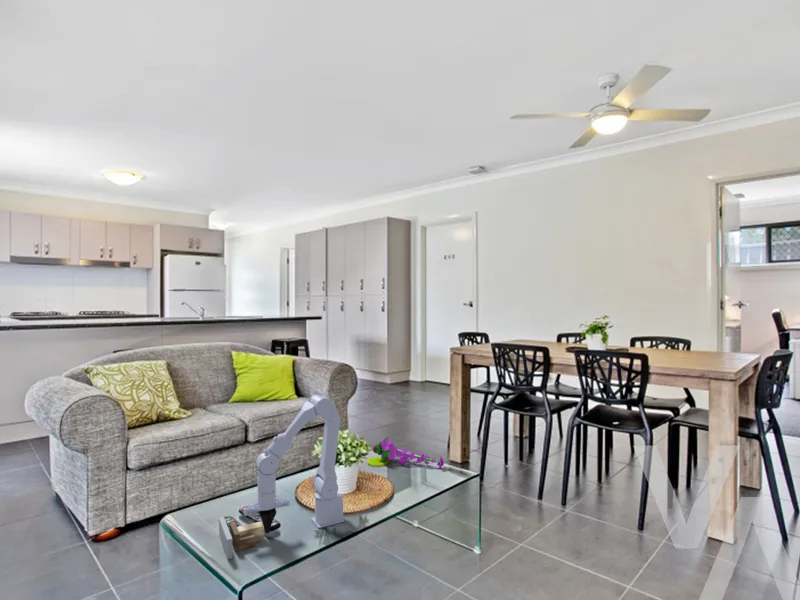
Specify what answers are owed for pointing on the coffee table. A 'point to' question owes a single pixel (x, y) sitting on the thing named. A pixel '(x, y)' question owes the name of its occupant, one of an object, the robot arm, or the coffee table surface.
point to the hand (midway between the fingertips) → (267, 531)
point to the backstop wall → (225, 538)
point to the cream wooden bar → (252, 530)
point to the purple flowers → (402, 454)
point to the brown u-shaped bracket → (240, 538)
